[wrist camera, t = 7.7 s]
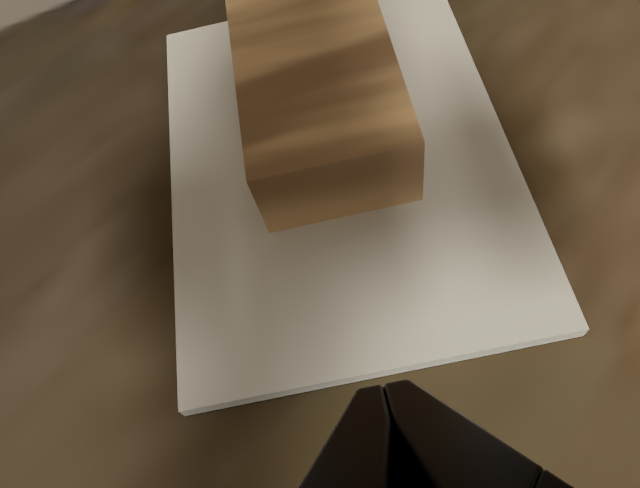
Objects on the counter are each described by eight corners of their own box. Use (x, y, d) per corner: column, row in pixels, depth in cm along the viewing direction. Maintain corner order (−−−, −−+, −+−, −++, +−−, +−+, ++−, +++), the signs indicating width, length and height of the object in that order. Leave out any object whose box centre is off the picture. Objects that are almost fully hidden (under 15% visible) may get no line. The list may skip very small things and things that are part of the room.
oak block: (424, 142, 21) (362, -45, 27) (246, 181, 21) (223, -12, 27) (422, 199, 24) (367, 22, 30) (269, 232, 25) (245, 51, 31)
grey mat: (583, 335, 21) (589, 328, 21) (185, 415, 22) (178, 411, 21) (434, -16, 32) (435, -28, 31) (171, 46, 33) (166, 35, 32)
